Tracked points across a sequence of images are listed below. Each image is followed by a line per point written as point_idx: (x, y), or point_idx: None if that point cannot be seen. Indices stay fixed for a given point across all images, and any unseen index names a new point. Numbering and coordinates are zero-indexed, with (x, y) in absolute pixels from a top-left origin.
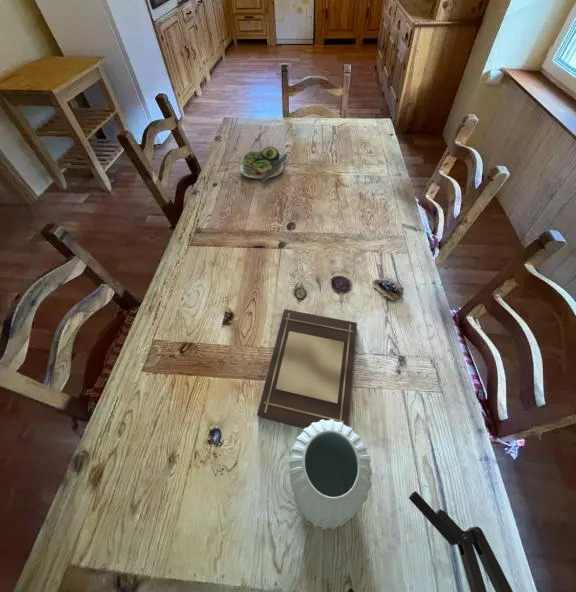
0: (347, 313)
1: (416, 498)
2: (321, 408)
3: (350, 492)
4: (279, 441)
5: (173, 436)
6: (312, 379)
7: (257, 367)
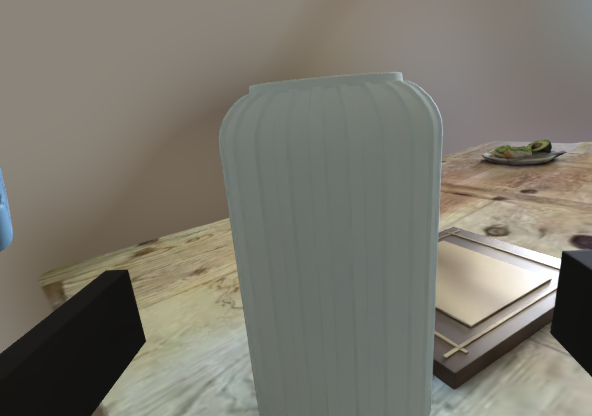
0: None
1: (580, 260)
2: None
3: (311, 79)
4: None
5: (219, 260)
6: (441, 285)
7: None
